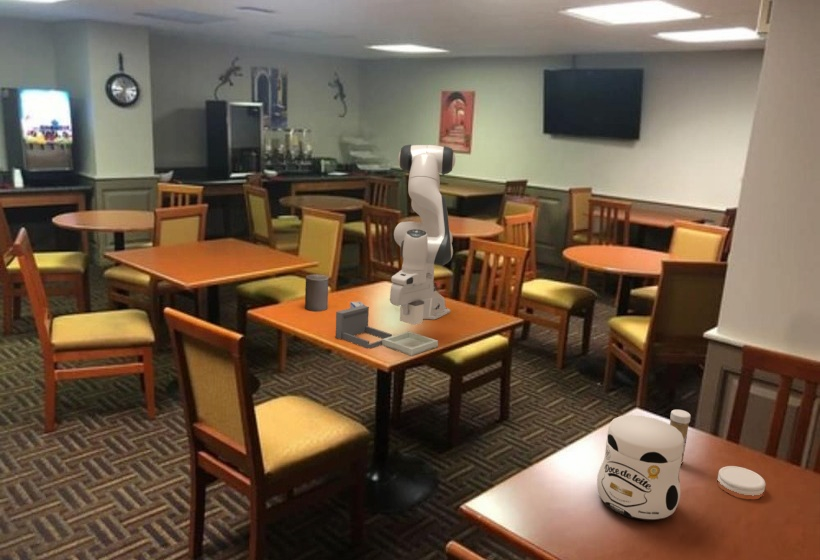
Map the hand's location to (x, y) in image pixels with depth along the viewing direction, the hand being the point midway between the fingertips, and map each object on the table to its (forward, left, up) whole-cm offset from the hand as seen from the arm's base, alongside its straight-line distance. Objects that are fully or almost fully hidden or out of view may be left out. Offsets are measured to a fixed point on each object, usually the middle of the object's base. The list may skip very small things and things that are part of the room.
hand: (411, 313), depth 238 cm
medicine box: (-3, -30, -13) cm, 33 cm away
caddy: (0, 0, -3) cm, 3 cm away
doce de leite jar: (+41, +102, -13) cm, 111 cm away
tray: (0, 0, -13) cm, 13 cm away
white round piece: (+16, +117, -13) cm, 119 cm away
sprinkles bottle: (+15, +101, -13) cm, 103 cm away
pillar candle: (-6, -58, -13) cm, 60 cm away
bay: (+7, -16, -13) cm, 22 cm away
